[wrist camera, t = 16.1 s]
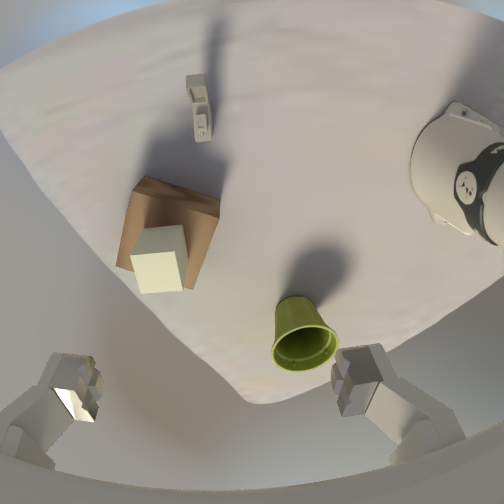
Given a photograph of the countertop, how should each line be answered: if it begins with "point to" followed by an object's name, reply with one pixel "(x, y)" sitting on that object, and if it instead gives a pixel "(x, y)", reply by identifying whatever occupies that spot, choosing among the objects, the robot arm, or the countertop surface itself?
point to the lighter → (200, 107)
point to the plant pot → (301, 336)
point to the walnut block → (170, 221)
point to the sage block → (160, 259)
